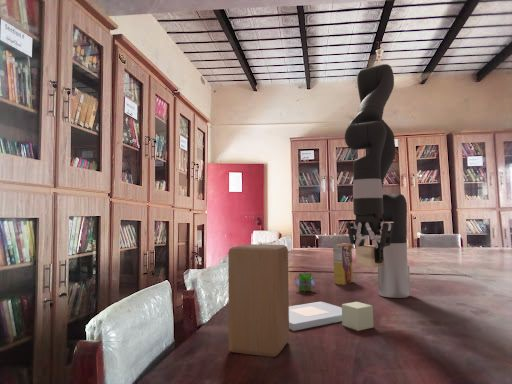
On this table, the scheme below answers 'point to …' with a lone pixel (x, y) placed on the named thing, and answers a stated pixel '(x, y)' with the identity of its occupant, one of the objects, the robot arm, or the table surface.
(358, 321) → the sage cap block
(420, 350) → the table surface
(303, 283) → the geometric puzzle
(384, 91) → the robot arm
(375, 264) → the maple block
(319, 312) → the board
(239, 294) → the wooden block
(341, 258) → the candy box
